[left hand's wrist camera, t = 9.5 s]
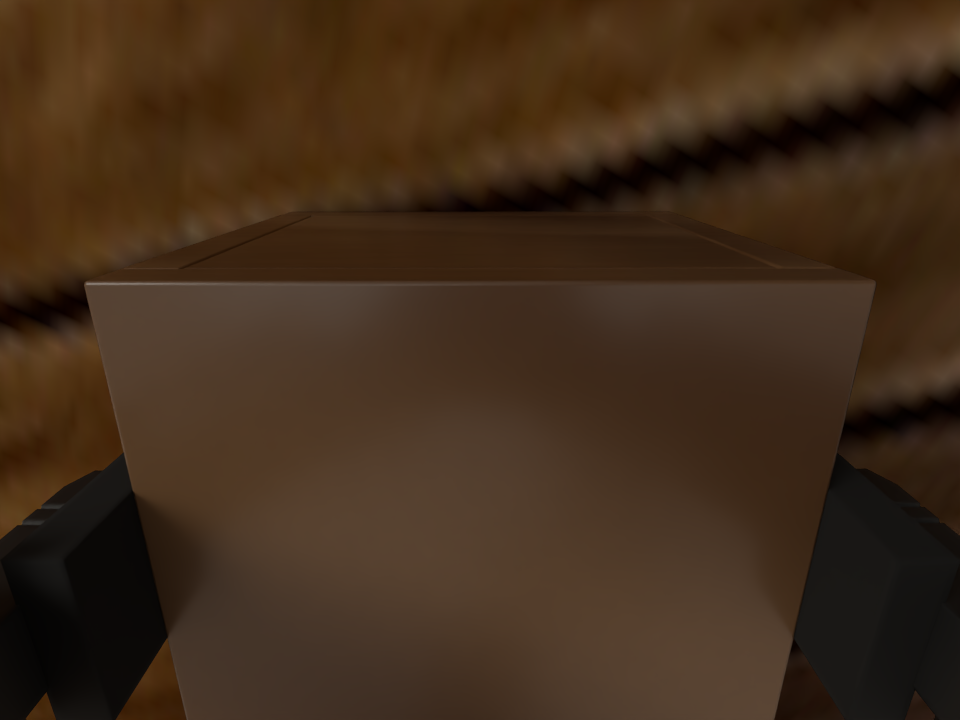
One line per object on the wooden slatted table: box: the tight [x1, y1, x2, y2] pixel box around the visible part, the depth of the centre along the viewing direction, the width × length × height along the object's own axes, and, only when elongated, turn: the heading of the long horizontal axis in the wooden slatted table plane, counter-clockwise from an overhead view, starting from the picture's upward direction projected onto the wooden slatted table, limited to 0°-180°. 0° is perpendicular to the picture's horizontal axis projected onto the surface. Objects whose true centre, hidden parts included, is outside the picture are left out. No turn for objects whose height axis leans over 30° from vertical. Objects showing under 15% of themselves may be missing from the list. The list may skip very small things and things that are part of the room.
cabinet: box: [84, 212, 876, 720], centre depth 15 cm, size 20×10×8 cm, turn 0°
